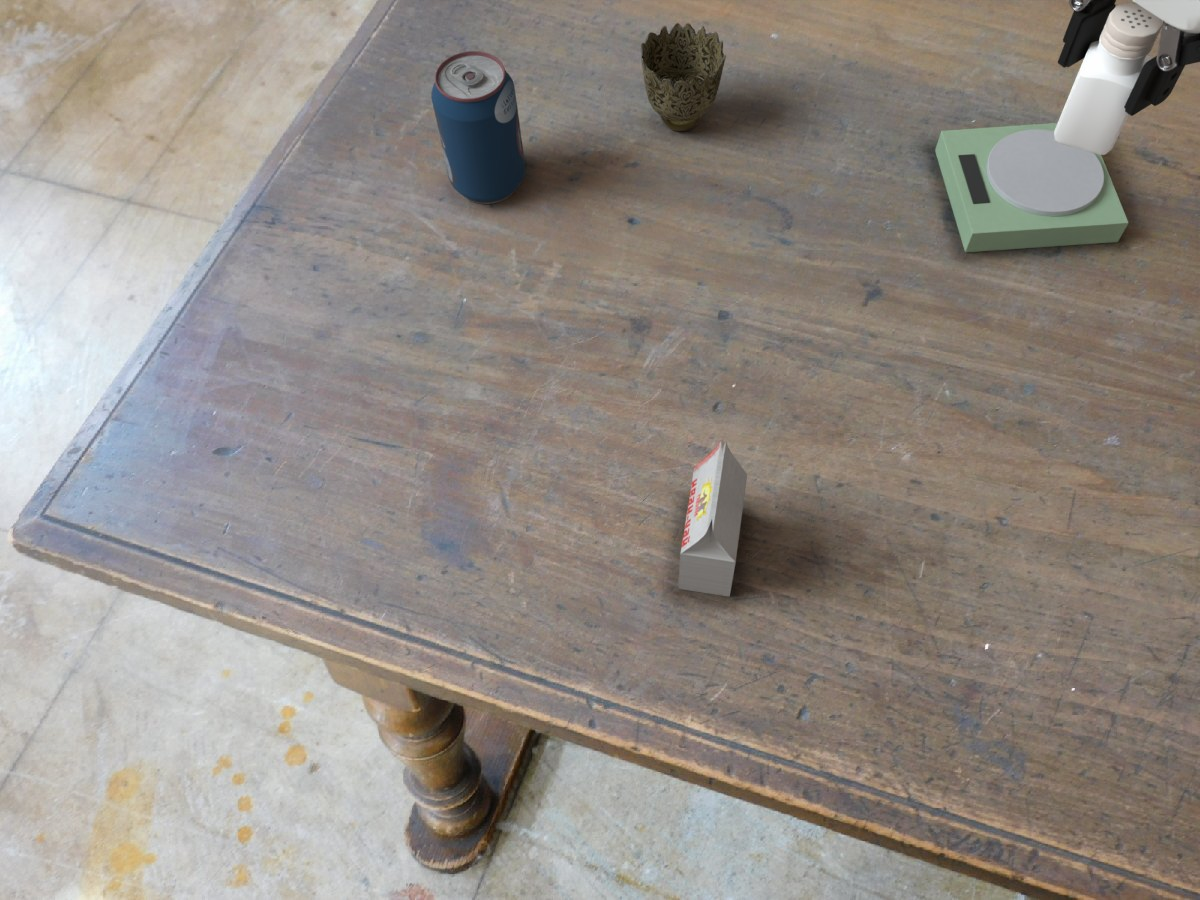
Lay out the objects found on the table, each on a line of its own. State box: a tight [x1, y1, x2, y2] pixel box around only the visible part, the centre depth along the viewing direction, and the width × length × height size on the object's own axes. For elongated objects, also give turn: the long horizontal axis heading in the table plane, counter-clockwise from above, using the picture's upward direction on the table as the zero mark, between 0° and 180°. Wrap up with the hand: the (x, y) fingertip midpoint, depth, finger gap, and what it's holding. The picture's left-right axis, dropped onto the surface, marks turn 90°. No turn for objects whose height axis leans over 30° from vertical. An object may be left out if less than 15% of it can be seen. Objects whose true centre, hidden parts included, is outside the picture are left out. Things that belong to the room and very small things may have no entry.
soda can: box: [431, 50, 526, 205], centre depth 92 cm, size 7×7×12 cm
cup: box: [640, 22, 727, 132], centre depth 97 cm, size 8×7×8 cm
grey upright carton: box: [677, 440, 748, 597], centre depth 74 cm, size 4×7×10 cm, turn 169°
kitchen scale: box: [934, 122, 1129, 253], centre depth 93 cm, size 13×12×3 cm
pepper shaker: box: [1054, 2, 1163, 156], centre depth 72 cm, size 4×4×10 cm
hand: (1109, 78), depth 72 cm, fingers closed on pepper shaker, 5 cm apart
